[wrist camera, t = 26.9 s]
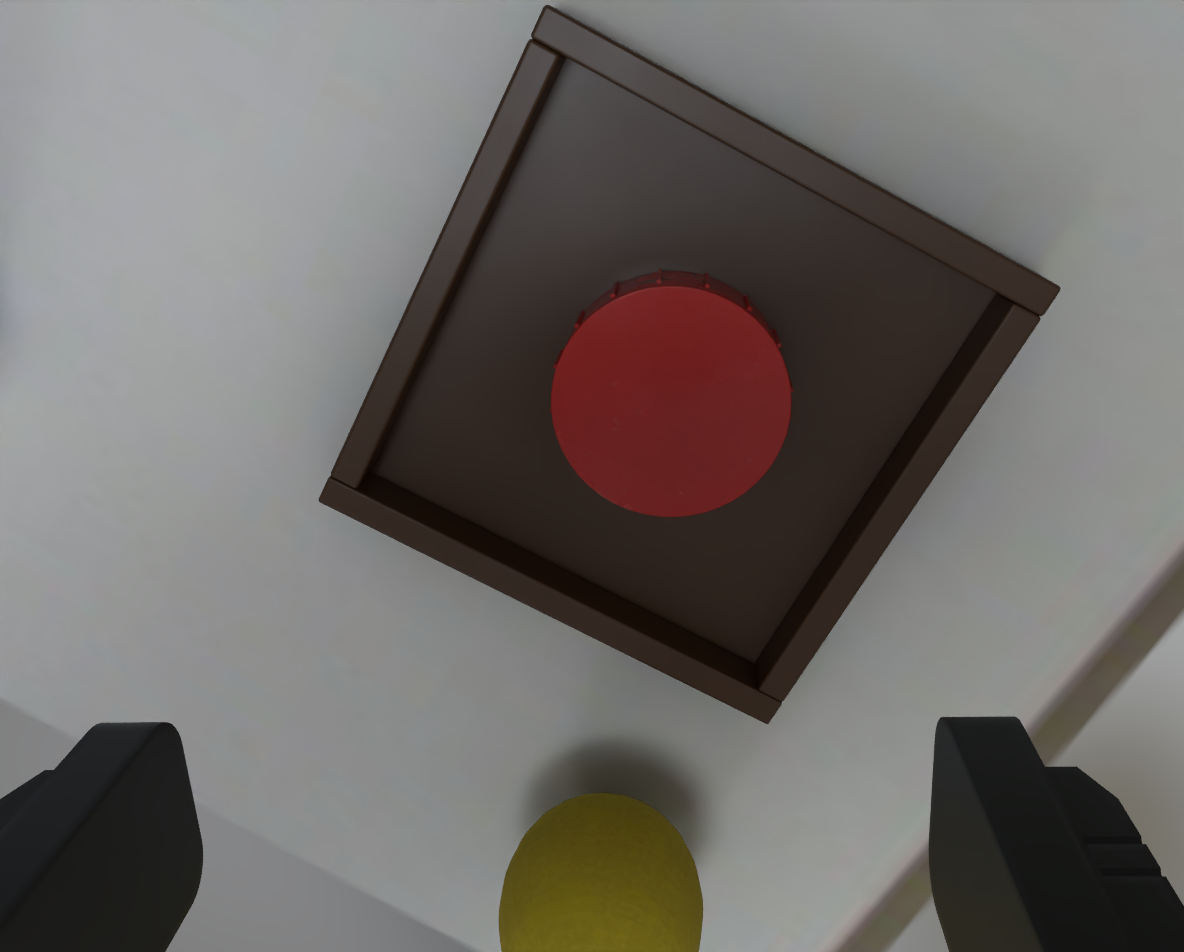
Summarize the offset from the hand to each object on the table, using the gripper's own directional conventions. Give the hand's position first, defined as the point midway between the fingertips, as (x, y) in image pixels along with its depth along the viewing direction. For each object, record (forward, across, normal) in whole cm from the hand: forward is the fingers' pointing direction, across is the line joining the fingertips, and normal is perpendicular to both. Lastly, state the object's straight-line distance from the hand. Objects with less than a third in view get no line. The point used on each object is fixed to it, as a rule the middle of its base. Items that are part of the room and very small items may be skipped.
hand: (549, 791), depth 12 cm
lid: (+17, -1, +1) cm, 17 cm away
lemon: (+19, +1, +14) cm, 24 cm away
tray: (+19, -1, +1) cm, 19 cm away
